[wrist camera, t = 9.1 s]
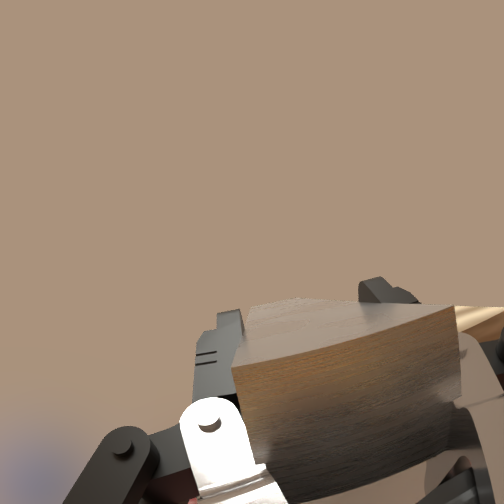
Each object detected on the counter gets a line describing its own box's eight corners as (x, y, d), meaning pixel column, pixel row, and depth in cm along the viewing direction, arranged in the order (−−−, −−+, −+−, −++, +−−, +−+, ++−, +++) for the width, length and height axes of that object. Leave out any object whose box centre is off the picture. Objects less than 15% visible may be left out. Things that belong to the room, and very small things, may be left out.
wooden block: (257, 339, 27) (250, 307, 27) (301, 329, 27) (294, 297, 27) (268, 509, 4) (230, 367, 4) (460, 442, 4) (454, 304, 5)
